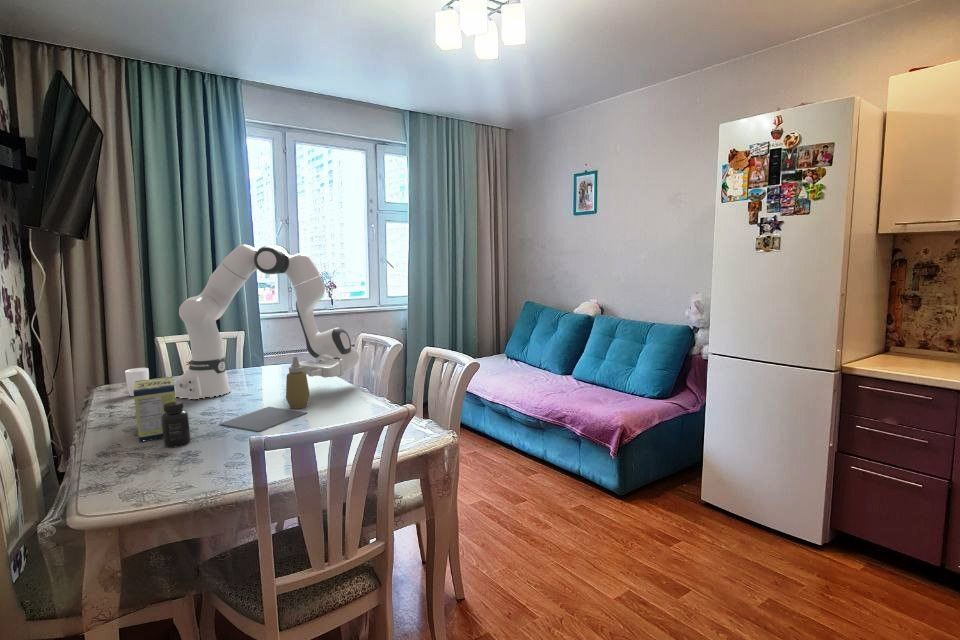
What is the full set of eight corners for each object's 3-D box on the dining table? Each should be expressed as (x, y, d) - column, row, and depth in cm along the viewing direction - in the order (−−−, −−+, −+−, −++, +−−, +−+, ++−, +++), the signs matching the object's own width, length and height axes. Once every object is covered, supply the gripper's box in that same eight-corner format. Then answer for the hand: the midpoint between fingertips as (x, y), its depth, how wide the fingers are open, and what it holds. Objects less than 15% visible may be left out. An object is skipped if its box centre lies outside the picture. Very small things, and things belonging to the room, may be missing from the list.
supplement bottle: (196, 439, 155) (192, 400, 153) (180, 448, 148) (176, 407, 147) (174, 439, 156) (170, 400, 154) (158, 447, 149) (153, 406, 147)
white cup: (154, 393, 210) (152, 368, 208) (133, 398, 203) (130, 373, 202) (144, 391, 214) (142, 366, 212) (123, 395, 207) (120, 370, 206)
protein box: (177, 422, 172) (173, 375, 170) (179, 435, 159) (174, 385, 157) (139, 428, 167) (134, 380, 165) (138, 443, 153) (132, 391, 151)
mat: (269, 407, 186) (268, 406, 186) (307, 413, 178) (307, 412, 178) (219, 424, 168) (218, 423, 168) (258, 432, 160) (258, 430, 160)
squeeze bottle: (281, 409, 184) (277, 358, 182) (296, 402, 191) (293, 354, 189) (300, 410, 181) (296, 359, 179) (315, 404, 189) (312, 355, 186)
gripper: (306, 355, 209) (278, 362, 196) (346, 359, 200) (320, 366, 187) (307, 371, 209) (279, 379, 197) (347, 375, 200) (321, 384, 188)
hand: (300, 373), depth 192 cm, fingers open, 8 cm apart
